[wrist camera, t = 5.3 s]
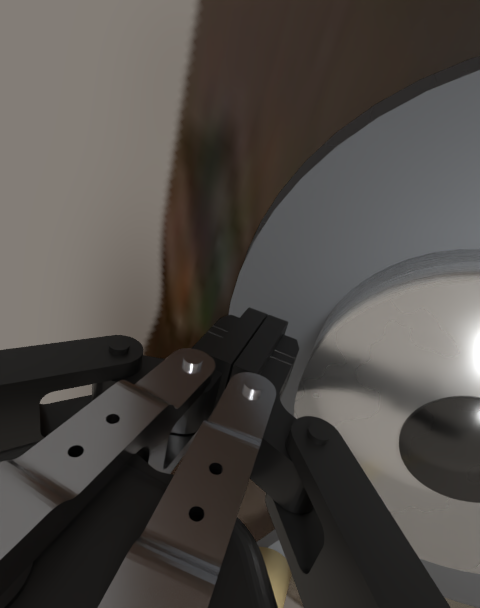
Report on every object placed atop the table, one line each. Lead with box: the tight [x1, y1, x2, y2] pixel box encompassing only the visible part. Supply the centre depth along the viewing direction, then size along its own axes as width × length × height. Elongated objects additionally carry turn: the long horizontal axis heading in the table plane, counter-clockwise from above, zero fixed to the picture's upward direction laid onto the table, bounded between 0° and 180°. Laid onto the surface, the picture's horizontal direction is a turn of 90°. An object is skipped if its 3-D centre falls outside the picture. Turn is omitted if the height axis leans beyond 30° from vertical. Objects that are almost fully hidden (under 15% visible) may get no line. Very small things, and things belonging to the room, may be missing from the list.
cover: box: [294, 249, 480, 574], centre depth 12 cm, size 10×10×3 cm
